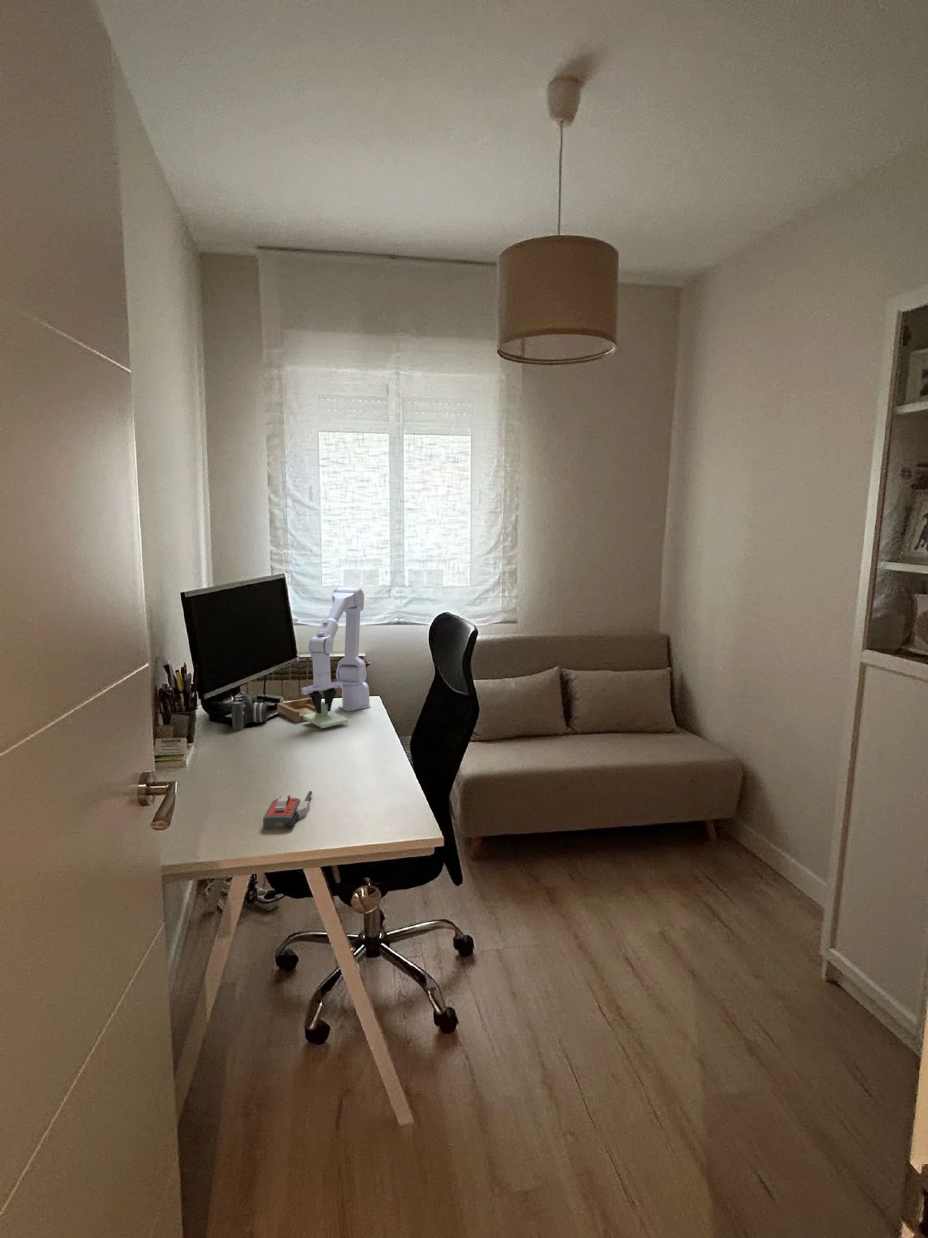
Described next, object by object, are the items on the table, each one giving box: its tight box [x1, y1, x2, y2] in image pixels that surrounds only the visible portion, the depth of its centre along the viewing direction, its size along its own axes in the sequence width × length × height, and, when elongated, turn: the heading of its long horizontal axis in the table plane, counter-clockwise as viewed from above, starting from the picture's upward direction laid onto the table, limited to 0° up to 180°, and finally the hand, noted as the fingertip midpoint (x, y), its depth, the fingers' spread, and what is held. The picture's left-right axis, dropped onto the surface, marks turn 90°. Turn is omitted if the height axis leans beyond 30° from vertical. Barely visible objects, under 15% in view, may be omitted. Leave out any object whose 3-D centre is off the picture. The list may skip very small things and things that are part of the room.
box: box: [276, 697, 332, 724], centre depth 252 cm, size 13×15×4 cm
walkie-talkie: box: [262, 790, 313, 830], centre depth 169 cm, size 9×4×20 cm
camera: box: [230, 691, 269, 731], centre depth 242 cm, size 14×11×10 cm
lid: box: [303, 701, 349, 729], centre depth 240 cm, size 10×12×5 cm
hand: (323, 711), depth 241 cm, fingers closed on lid, 3 cm apart
